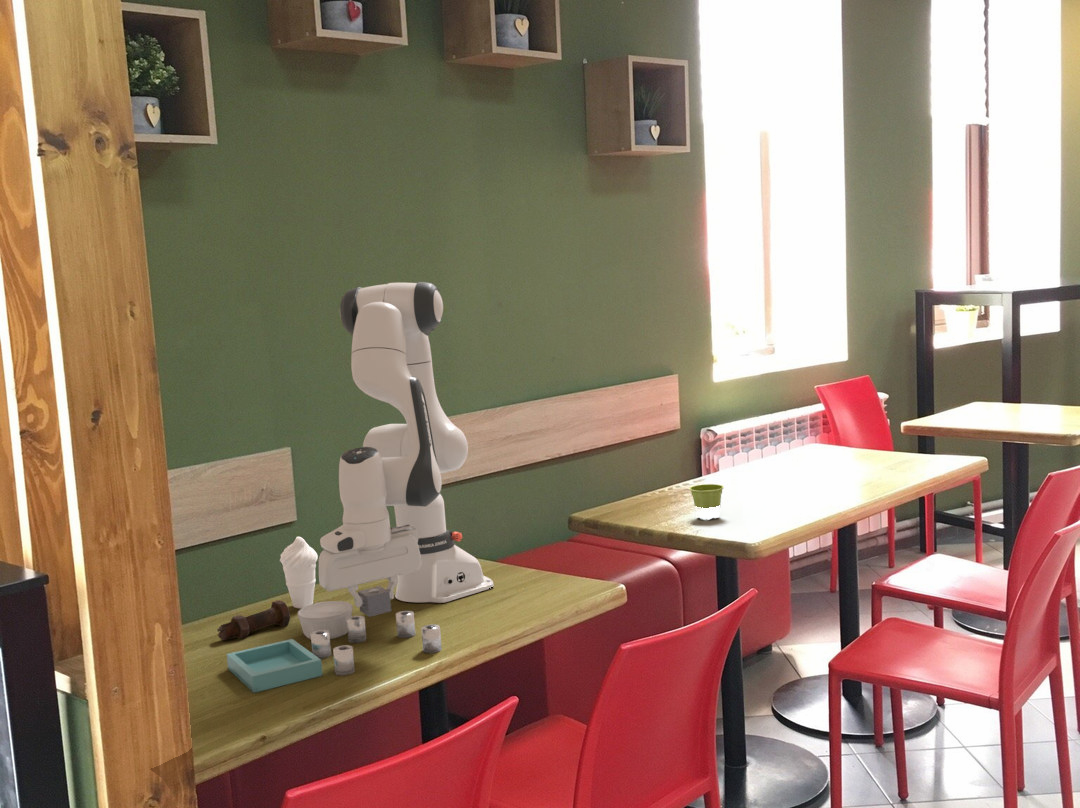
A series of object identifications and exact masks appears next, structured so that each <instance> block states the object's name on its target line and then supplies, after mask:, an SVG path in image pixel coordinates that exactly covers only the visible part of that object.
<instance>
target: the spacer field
mask: <svg viewBox="0 0 1080 808" xmlns="http://www.w3.org/2000/svg"><path fill="white" fill-rule="evenodd" d="M395 619H396V620H395V622H396V631H397V632H396V633H397V637H398V638H400V639H408V638H412V637H414V636H415V635H416V624H415V614H414V611H412V610H402V611H398V612H396V613H395ZM420 630H421V643H422V651H423V653H427V654H434V653H438V652H441V651H442V636H441V627H440V625H439V624H426V625H423V626H422V627H421V629H420ZM347 631H348V633H347V640H348V643H349V644H350V643H351V644H358V643H362V642H364V643H365V642H366V640H367V632H366V619H365V616H363V615H353V616H352V617H349V618H347ZM310 640H311V641H310V642H311V653H312V654H314V655H315V656H317V657H318V658H319V659H321V660H322V659H326V658H329V657H331V656H332V652H333V662H334V663H333V664H334V672H335V673H334V674H335V675H337V676H348V675H351V674H353V673H355V671H356V669H355V667H356V666H355V659H354V658H355V657H354V649H353V648H354V646H353V645H349V644H348V645H347V644H345V645H343V644H342V645H339V646H335V647H334V648H332V645H331V639H330V633H329V631H327V630H319V631H315V632H312V633H311V639H310ZM332 649H333V650H332Z"/></svg>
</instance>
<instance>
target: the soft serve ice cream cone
mask: <svg viewBox="0 0 1080 808" xmlns="http://www.w3.org/2000/svg"><path fill="white" fill-rule="evenodd" d="M318 560H319V556H318V553H317V552H316V551H315V549H314V548H313V547H311V546H310V545H309V544H308V542H306V540H305V539H304V538H303V537H301V536H296V538H295V539H294V541H293V542H292V543H290V544H289V545H287V547H285V548H284V549H283V551H282V553H280V558H279V562H280V563H281V565H282V570H283V572H284V577H285V585H286V587H287V589H288V593H289V596H290V599H291V602H292V606H293V608H296V609H302V608H303V607H305V606H308V605H311V604H314V595H315V585H316V582H317V580H316V568H317V564H316V563H317V562H318Z"/></svg>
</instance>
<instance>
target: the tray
mask: <svg viewBox="0 0 1080 808" xmlns="http://www.w3.org/2000/svg"><path fill="white" fill-rule="evenodd" d="M226 660H227V661H226V662H227V670H228V671H230V673H232V674H233V676H235V677H236V678H237V679H238V680H239V681H240V682H241V683H242V684H244V685H245V686H246V687H247V688H248V689H249V690H250V691H251V692H252V693H254V694H255V693H258V692H262V691H263V692H264V691H266V690H271V689H274V688H279V687H283V686H286V685H291V684H295V683H299V682H303V681H306V680H311V679H315V678H318V677H322V676H323V665H322V658H321V659H319V658H318V657H317V656H315V655H314V654H312V651H310V650H308V649H307V648H306V647H304V646H303V645H302V644H300V643H298V642H297V641H296V640H295V639H293V638H289V639H286V640H282V641H277V642H273V643H268V644H264V645H260V646H255V647H251V648H247V649H243V650H237V651H233V652H229V653H226Z"/></svg>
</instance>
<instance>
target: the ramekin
mask: <svg viewBox="0 0 1080 808" xmlns="http://www.w3.org/2000/svg"><path fill="white" fill-rule="evenodd" d="M353 607H354V606H353V605H352V603H350V602H348V601H344V600H329V601H328V600H326V601H319V602H315V603H314V602H313V604H311V605H308V606H305V607H303V608H299V610H298V611H297V617H298V619H299V621H300V626H301V629H302V632H303V635H304V636H305V637H306V638H308V639H309V640H311V633H312V632H315V631H319V630H327V631H329V633H330V640H333V639H336V638H340V637H343V636H345V635H347V634H348V631H347V618H349V617H352V615H353V613H352V612H353Z"/></svg>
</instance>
